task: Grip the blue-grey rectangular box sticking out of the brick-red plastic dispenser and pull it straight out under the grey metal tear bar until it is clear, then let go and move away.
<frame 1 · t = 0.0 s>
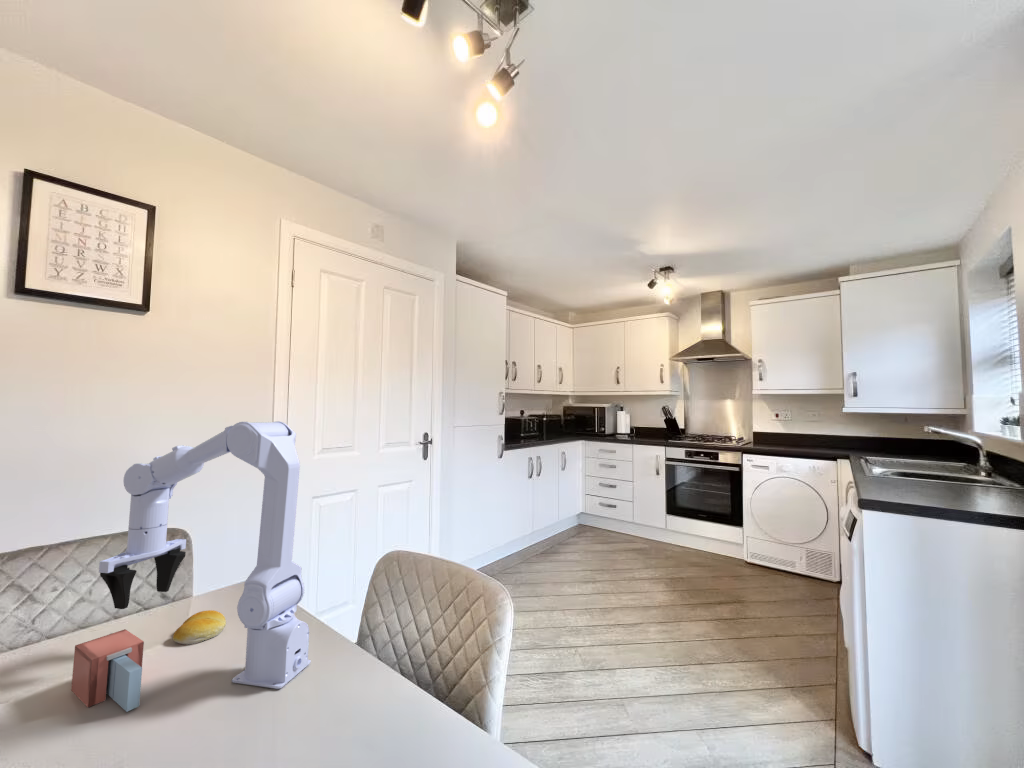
hand: (142, 599, 81), 10 cm above the table, tool pointing down, fingers open, 7 cm apart
bread roll: (200, 635, 88), on the table
blue-grey rectangular box: (118, 675, 68), point 3 cm above the table, slide at 0.0 cm
dispenser: (106, 687, 70), on the table
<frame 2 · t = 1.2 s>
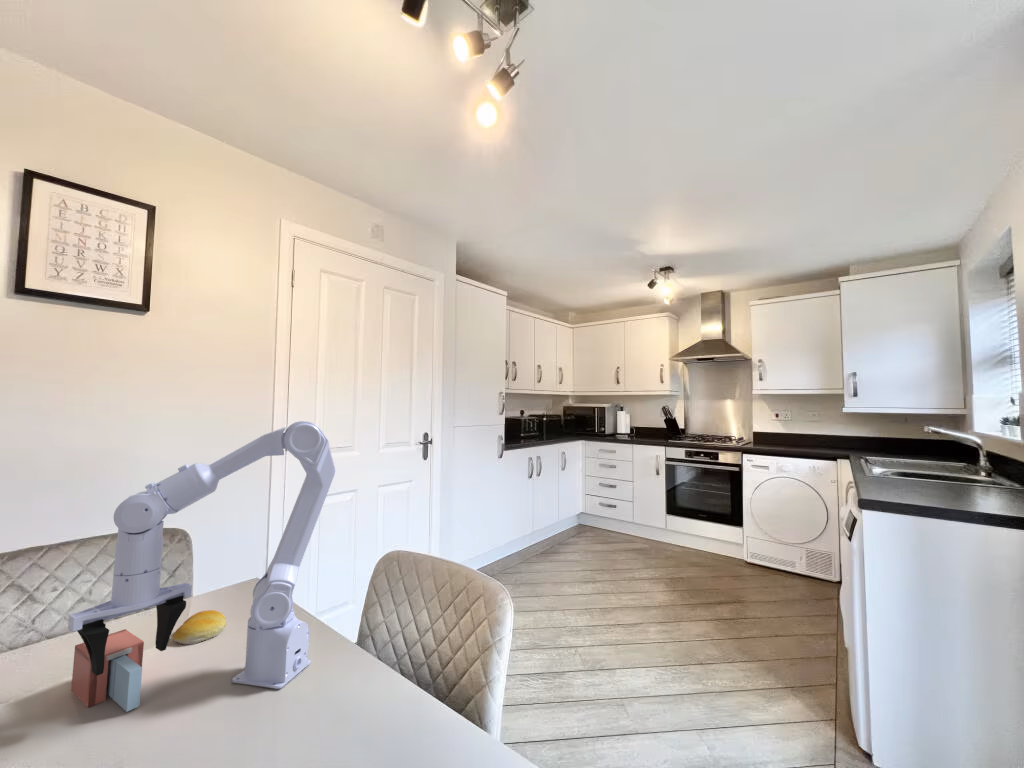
hand: (130, 660, 66), 7 cm above the table, tool pointing down, fingers open, 7 cm apart
nothing on the table moved.
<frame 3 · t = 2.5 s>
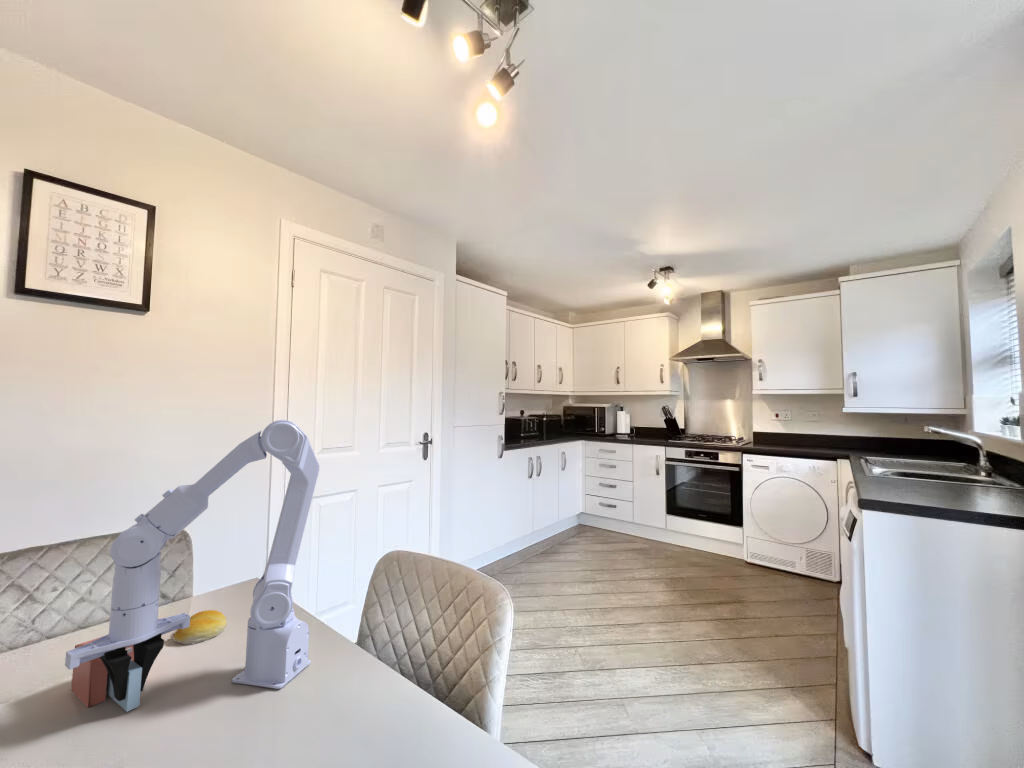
hand: (128, 694, 66), 2 cm above the table, tool pointing down, fingers closed on blue-grey rectangular box
blue-grey rectangular box: (118, 675, 68), point 3 cm above the table, slide at 0.0 cm, touching gripper
everything else where it was.
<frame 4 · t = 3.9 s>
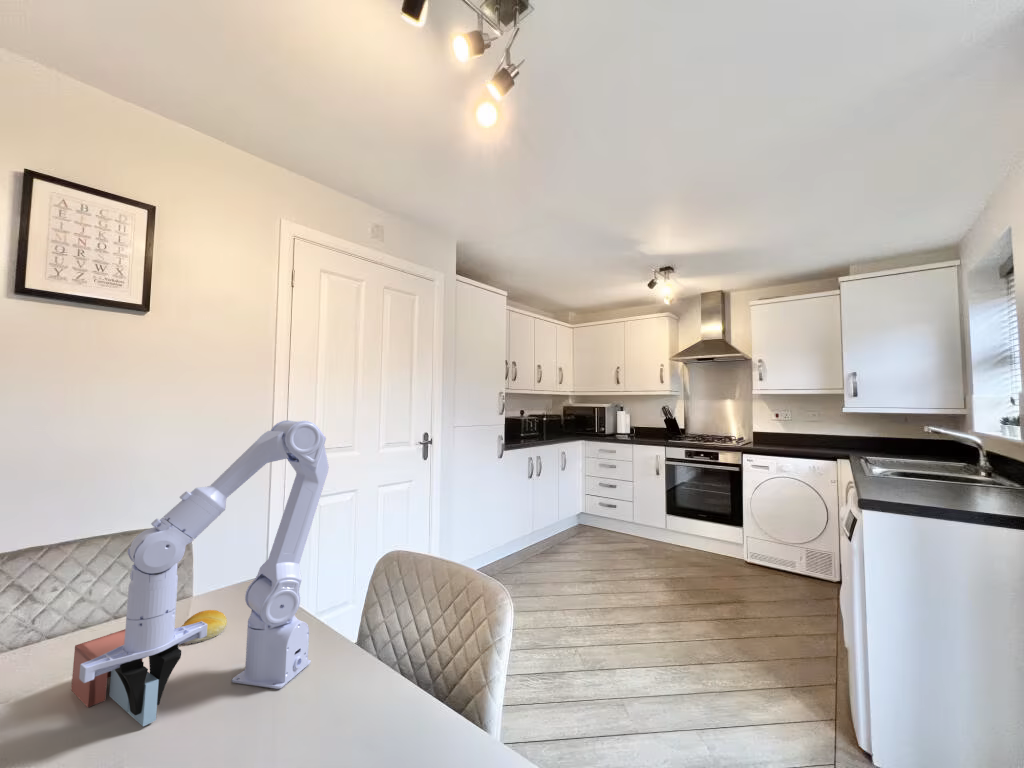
hand: (144, 707, 62), 2 cm above the table, tool pointing down, fingers closed on blue-grey rectangular box
blue-grey rectangular box: (133, 688, 65), point 3 cm above the table, slide at 5.9 cm, touching gripper
everything else where it was.
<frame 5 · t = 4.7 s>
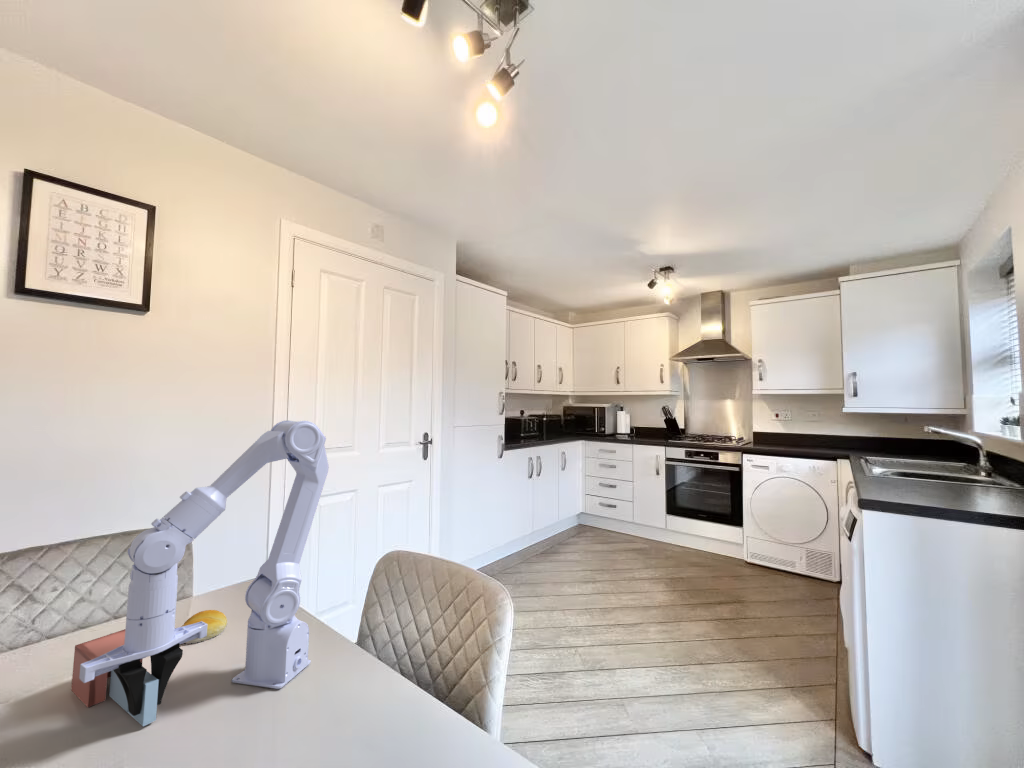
hand: (145, 707, 63), 2 cm above the table, tool pointing down, fingers closed
blue-grey rectangular box: (133, 688, 65), point 3 cm above the table, slide at 5.9 cm
everything else where it was.
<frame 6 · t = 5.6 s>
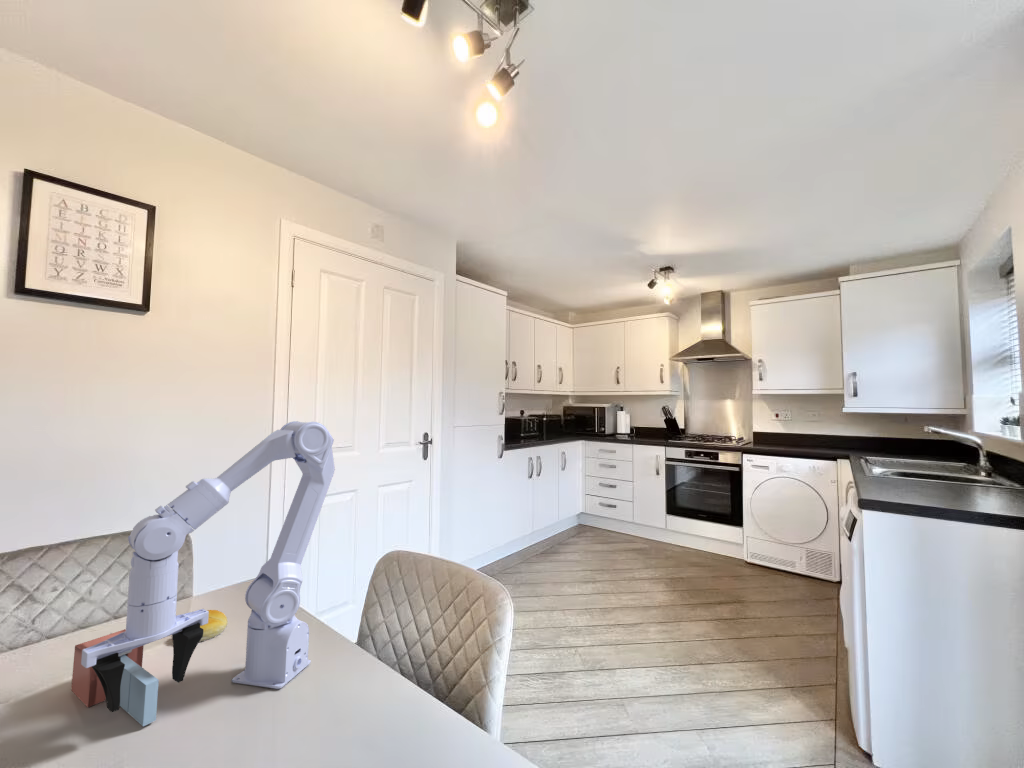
hand: (147, 693, 63), 4 cm above the table, tool pointing down, fingers open, 7 cm apart
nothing on the table moved.
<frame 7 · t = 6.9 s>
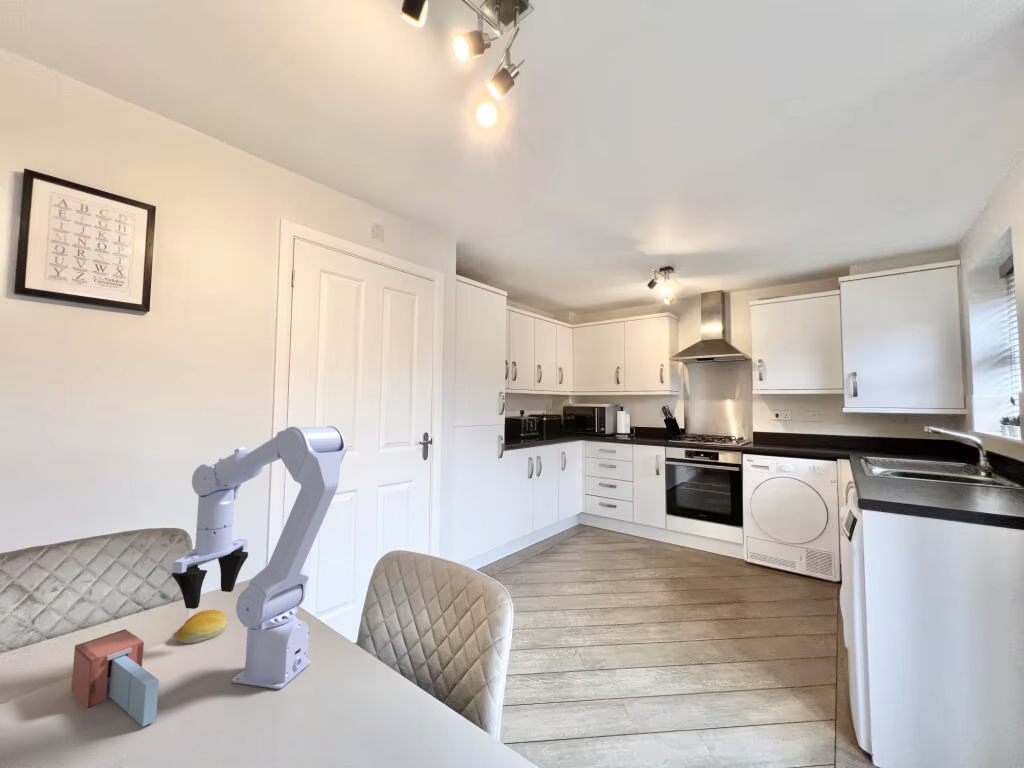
hand: (210, 599, 81), 10 cm above the table, tool pointing down, fingers open, 7 cm apart
nothing on the table moved.
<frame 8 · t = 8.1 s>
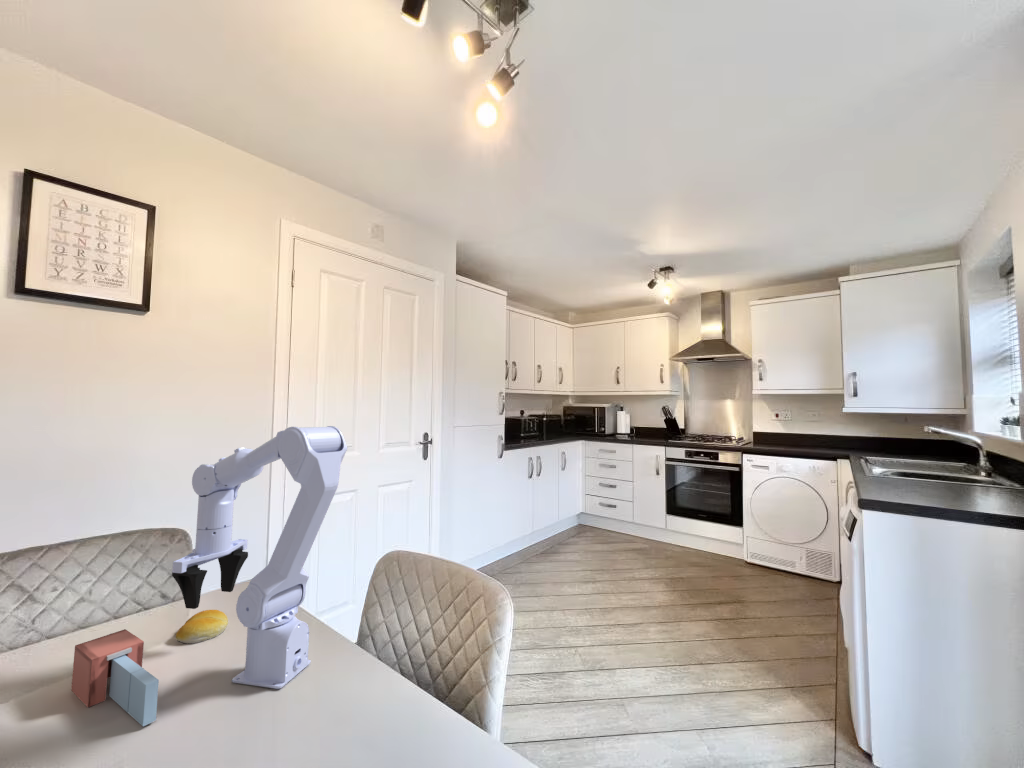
hand: (210, 599, 81), 10 cm above the table, tool pointing down, fingers open, 7 cm apart
nothing on the table moved.
at the end: blue-grey rectangular box slide at 5.9 cm; the gripper is holding nothing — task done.
